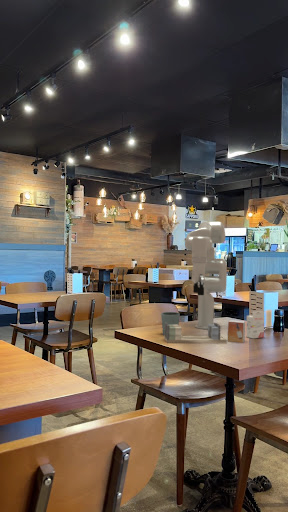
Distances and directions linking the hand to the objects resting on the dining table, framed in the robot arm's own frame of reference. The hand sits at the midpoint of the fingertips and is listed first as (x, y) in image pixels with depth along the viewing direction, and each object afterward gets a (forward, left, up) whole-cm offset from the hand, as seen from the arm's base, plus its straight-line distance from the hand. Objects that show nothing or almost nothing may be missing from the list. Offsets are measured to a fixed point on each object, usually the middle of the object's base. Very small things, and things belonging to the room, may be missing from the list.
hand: (198, 293), depth 217 cm
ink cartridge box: (-10, +34, -25) cm, 43 cm away
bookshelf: (+1, -2, -24) cm, 25 cm away
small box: (0, +20, -25) cm, 32 cm away
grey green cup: (-16, -12, -25) cm, 32 cm away
